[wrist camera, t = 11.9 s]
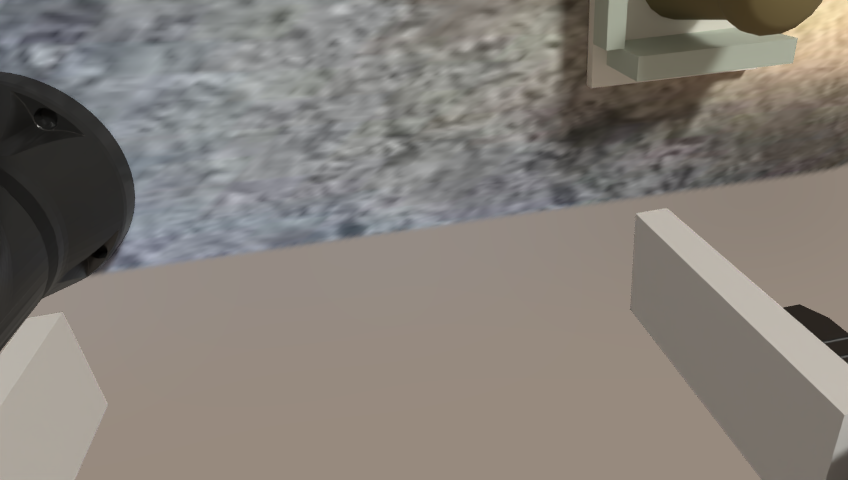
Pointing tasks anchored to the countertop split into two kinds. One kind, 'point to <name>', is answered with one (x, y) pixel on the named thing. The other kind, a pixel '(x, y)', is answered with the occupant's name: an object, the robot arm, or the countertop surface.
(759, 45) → the holder
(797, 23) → the brown rounded knob
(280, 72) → the countertop surface
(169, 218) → the countertop surface
